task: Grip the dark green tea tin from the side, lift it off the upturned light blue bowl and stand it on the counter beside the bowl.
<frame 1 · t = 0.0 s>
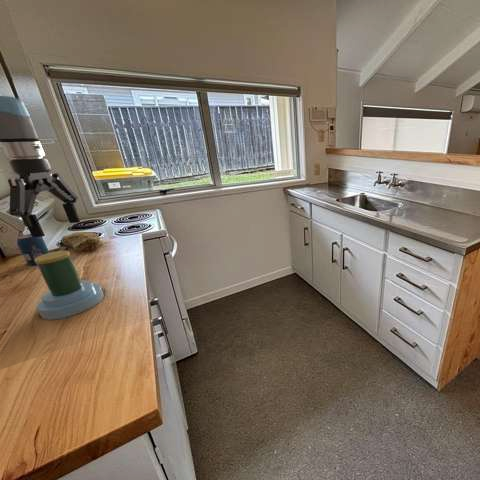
hand: (58, 229, 81), 20 cm above the countertop, tool pointing down, fingers open, 13 cm apart
sponge: (83, 247, 119), on the countertop
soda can: (41, 263, 104), on the countertop
tea tin: (67, 289, 74), point 5 cm above the countertop, touching upturned bowl
upturned bowl: (74, 304, 76), on the countertop
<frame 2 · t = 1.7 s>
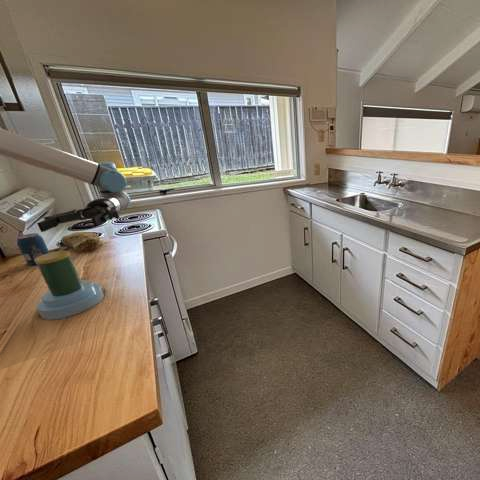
hand: (68, 224, 77), 22 cm above the countertop, tool horizontal, fingers open, 13 cm apart
nothing on the countertop moved.
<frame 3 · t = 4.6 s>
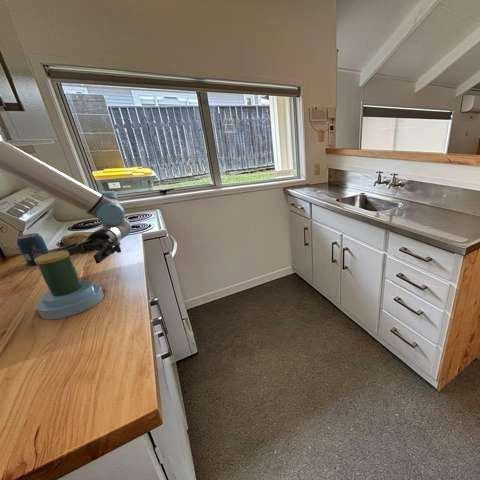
hand: (69, 262, 76), 11 cm above the countertop, tool horizontal, fingers open, 13 cm apart
nothing on the countertop moved.
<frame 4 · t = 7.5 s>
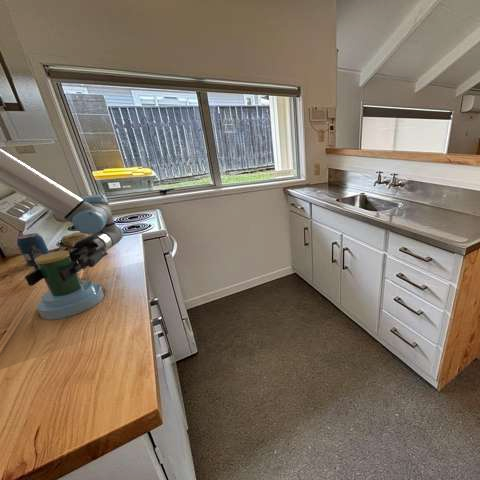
hand: (45, 278, 67), 11 cm above the countertop, tool horizontal, fingers closed on tea tin, 7 cm apart
tea tin: (67, 289, 74), point 5 cm above the countertop, touching gripper, upturned bowl
everything else where it was.
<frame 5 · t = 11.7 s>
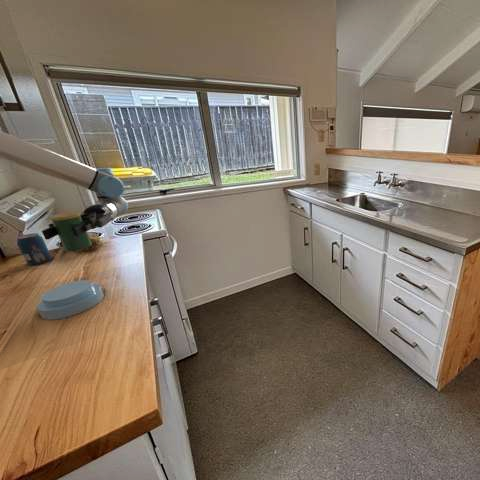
hand: (60, 233, 76), 20 cm above the countertop, tool horizontal, fingers closed on tea tin, 7 cm apart
tea tin: (78, 247, 82), point 13 cm above the countertop, touching gripper
everything else where it was.
when the fingers open (6 cm above the countertop, at t = 15.8 s): tea tin stays where it is, on the countertop.
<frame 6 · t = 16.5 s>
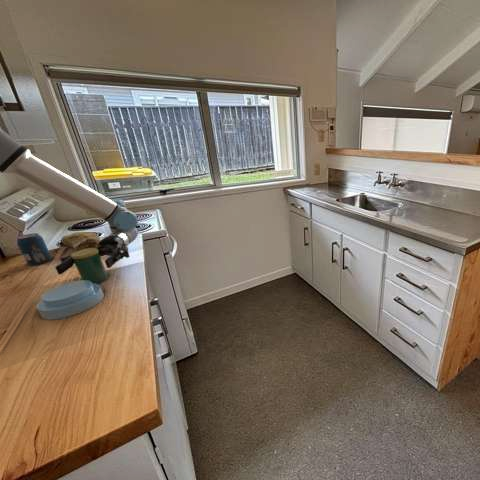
hand: (83, 267, 84), 7 cm above the countertop, tool horizontal, fingers open, 13 cm apart
tea tin: (96, 280, 89), on the countertop
everything else where it was.
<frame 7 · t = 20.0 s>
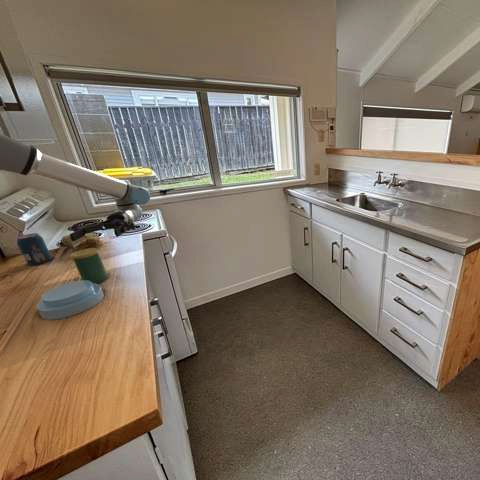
hand: (94, 235, 93), 14 cm above the countertop, tool horizontal, fingers open, 13 cm apart
nothing on the countertop moved.
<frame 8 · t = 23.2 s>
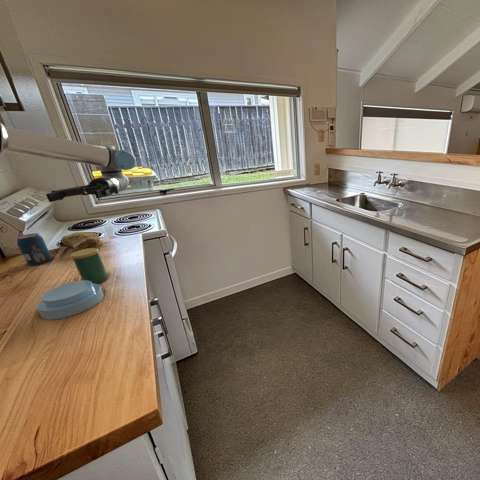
hand: (73, 196, 87), 28 cm above the countertop, tool horizontal, fingers open, 13 cm apart
nothing on the countertop moved.
at the end: tea tin inside the target area (0.0 cm from its centre), on the countertop; tea tin tilted 0°; tea tin touching countertop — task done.
